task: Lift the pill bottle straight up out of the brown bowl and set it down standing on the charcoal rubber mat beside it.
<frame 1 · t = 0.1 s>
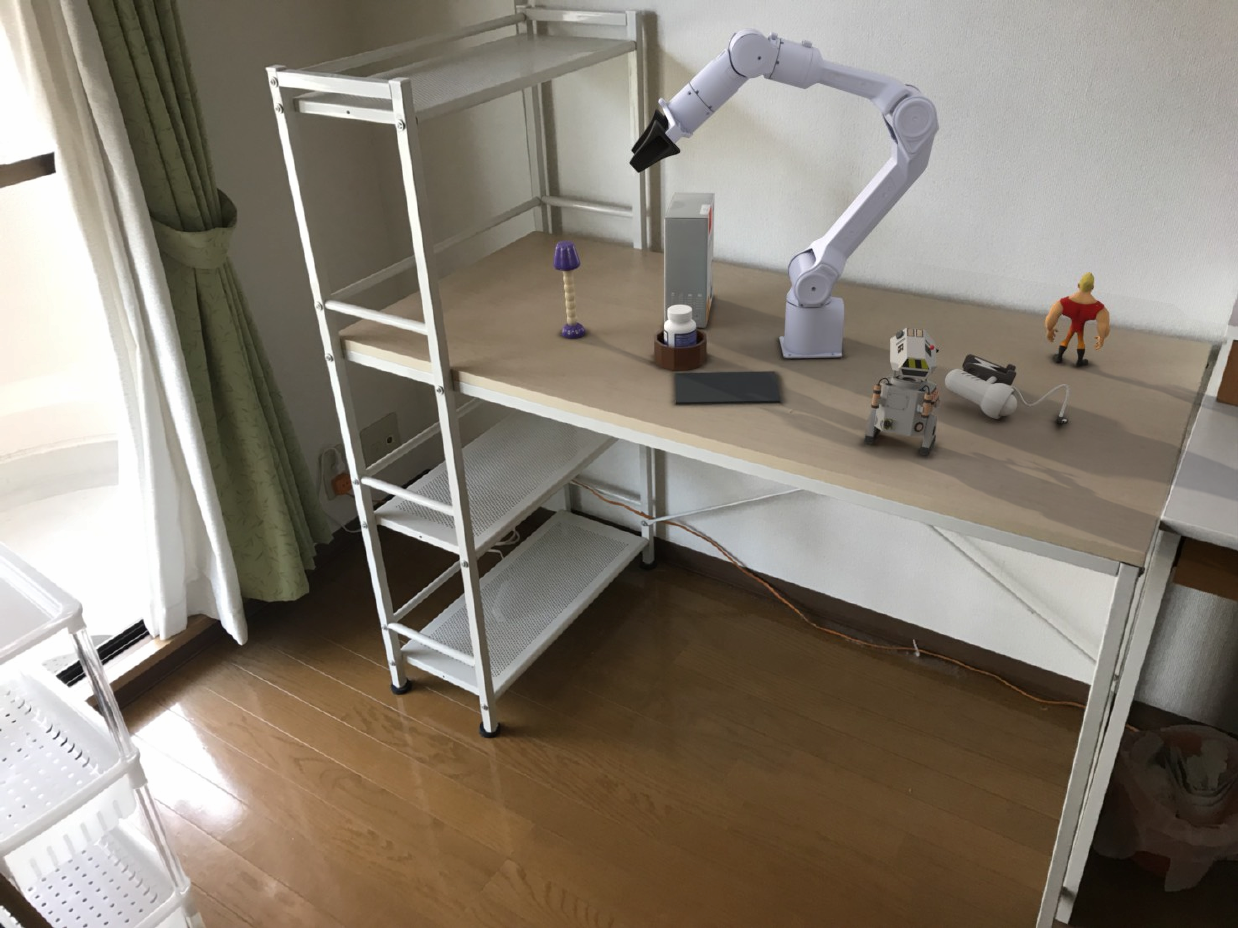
hand: (634, 161, 151), 32 cm above the table, tool tilted 50°, fingers open, 7 cm apart
action figure: (1069, 363, 159), on the table
brown bowl: (680, 359, 165), on the table
figurine: (902, 438, 141), on the table
pill bottle: (680, 360, 165), resting in brown bowl
toy lamp: (572, 335, 176), on the table
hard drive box: (689, 312, 182), on the table
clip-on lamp: (1007, 409, 147), on the table
mat: (726, 388, 155), on the table
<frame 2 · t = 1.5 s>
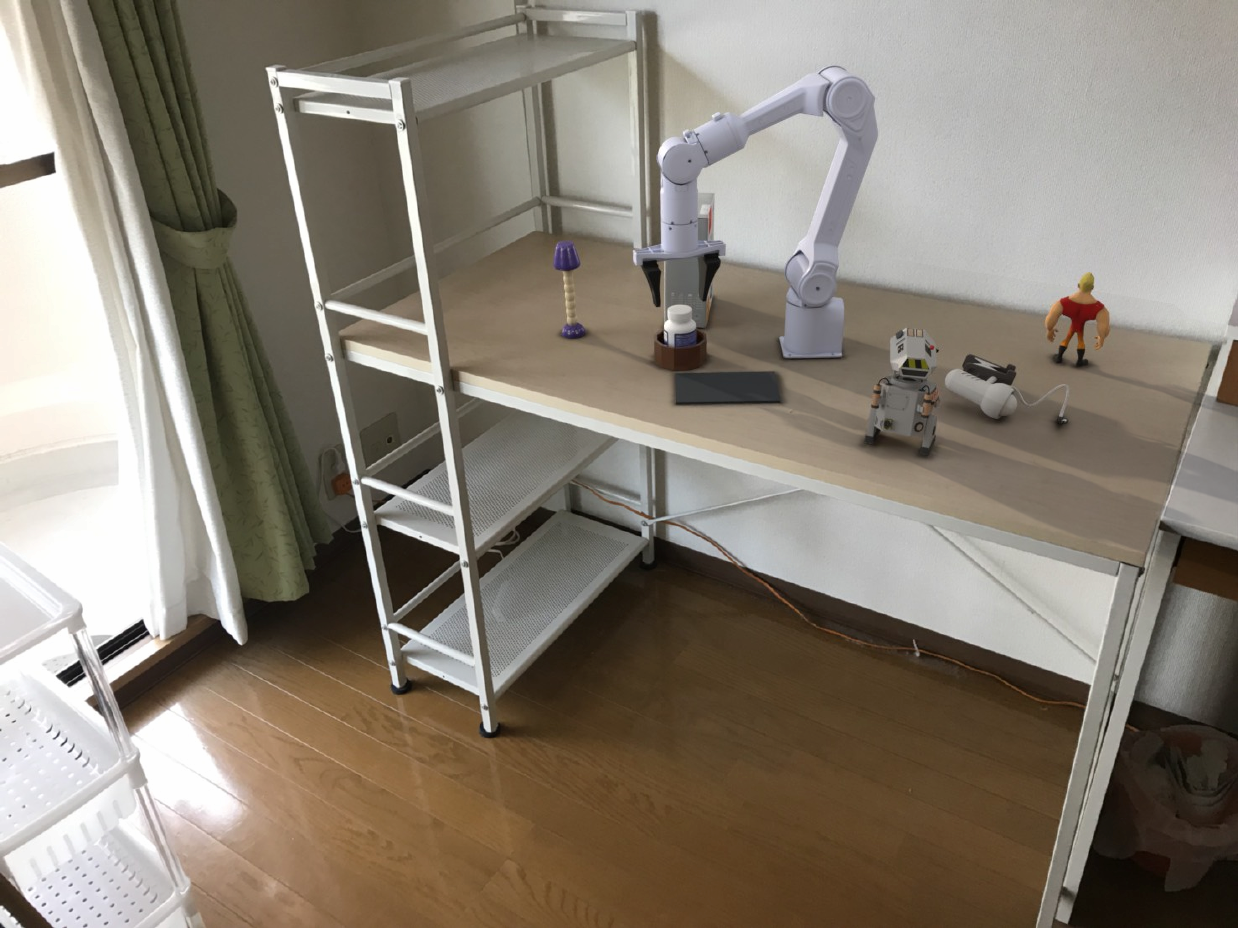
hand: (679, 302, 160), 10 cm above the table, tool pointing down, fingers open, 7 cm apart
nothing on the table moved.
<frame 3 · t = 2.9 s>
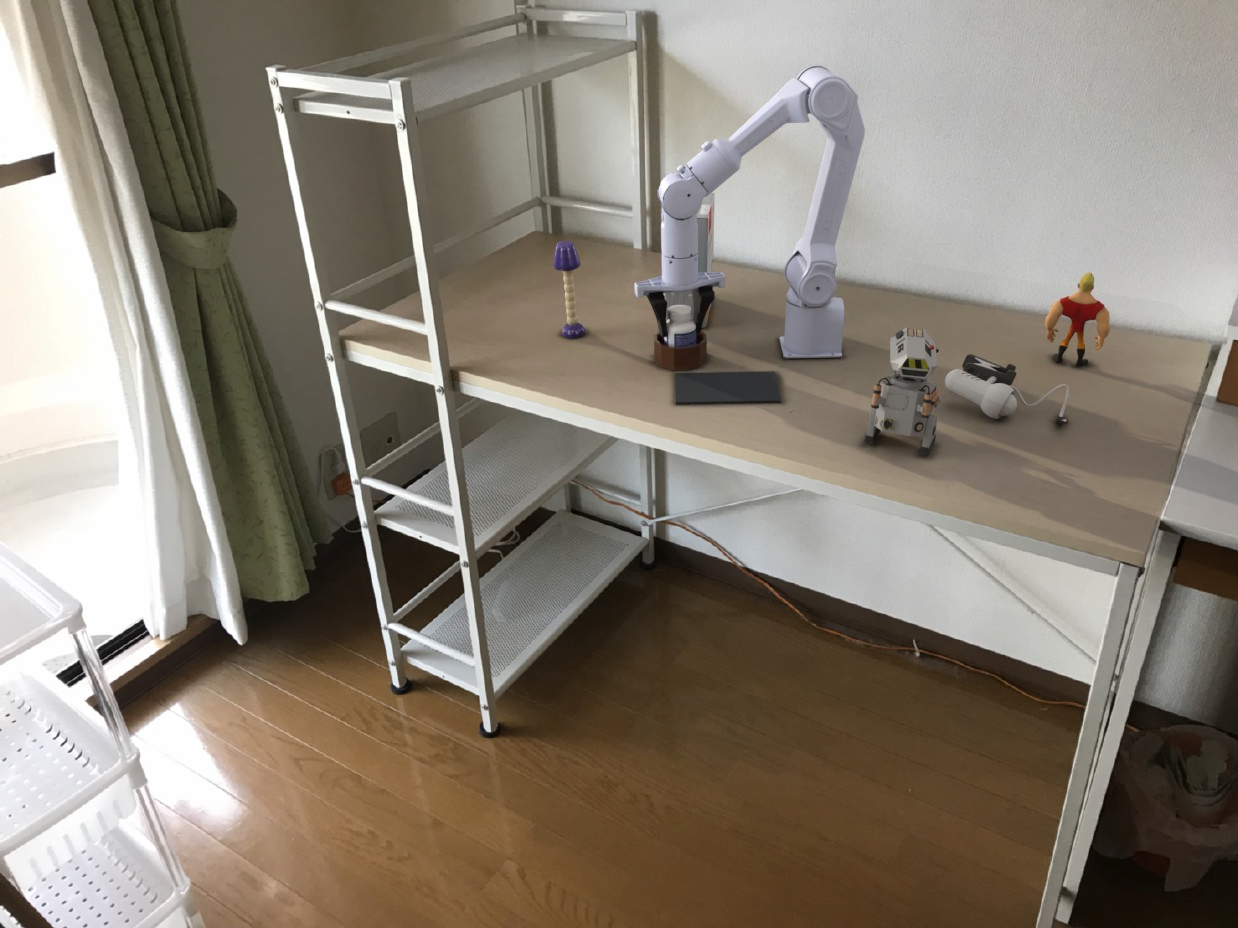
hand: (680, 332, 163), 5 cm above the table, tool pointing down, fingers closed on pill bottle, 5 cm apart
pill bottle: (680, 360, 165), resting in brown bowl, touching gripper
everything else where it was.
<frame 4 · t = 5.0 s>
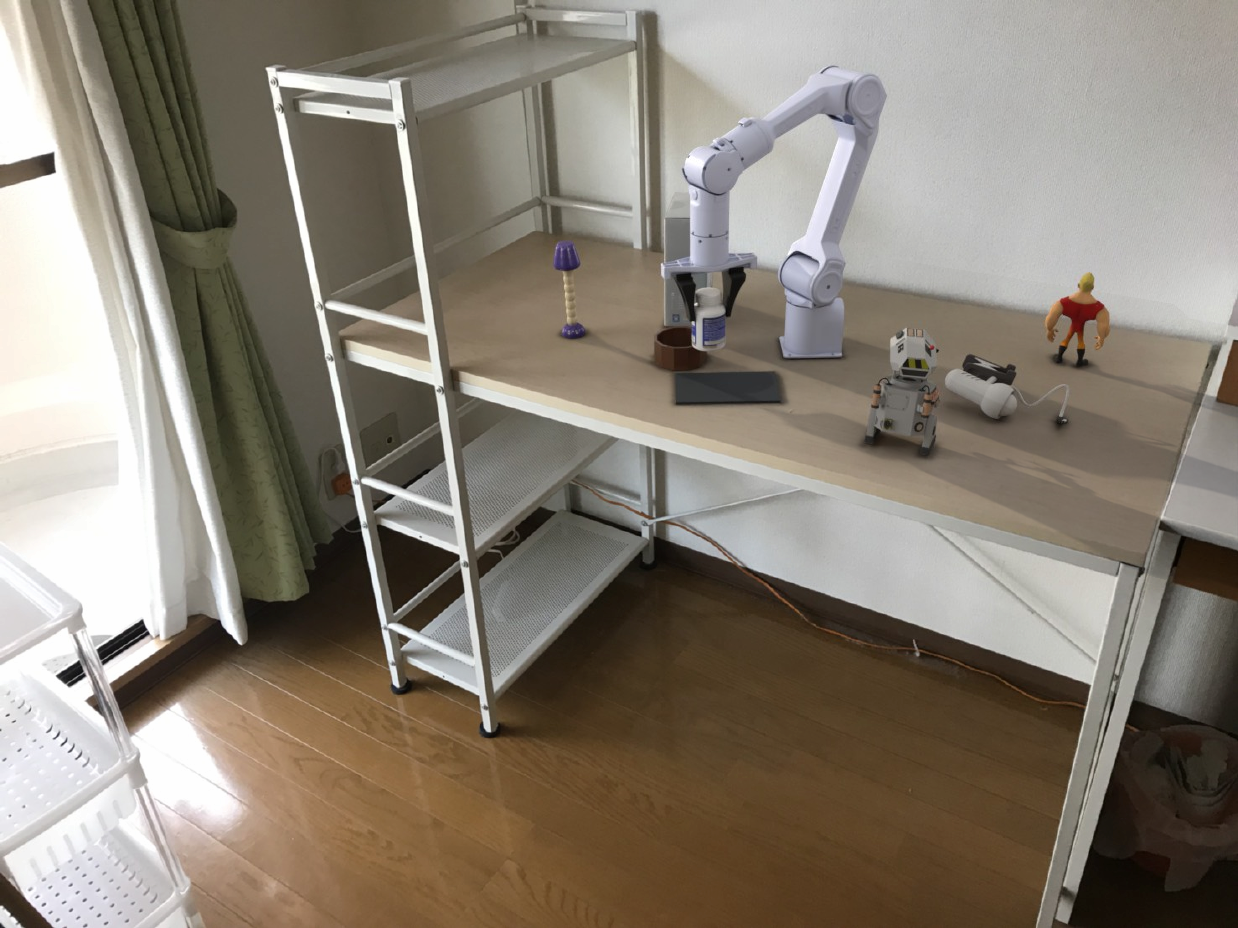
hand: (708, 316, 154), 10 cm above the table, tool pointing down, fingers closed on pill bottle, 5 cm apart
pill bottle: (708, 346, 156), point 5 cm above the table, touching gripper
everything else where it was.
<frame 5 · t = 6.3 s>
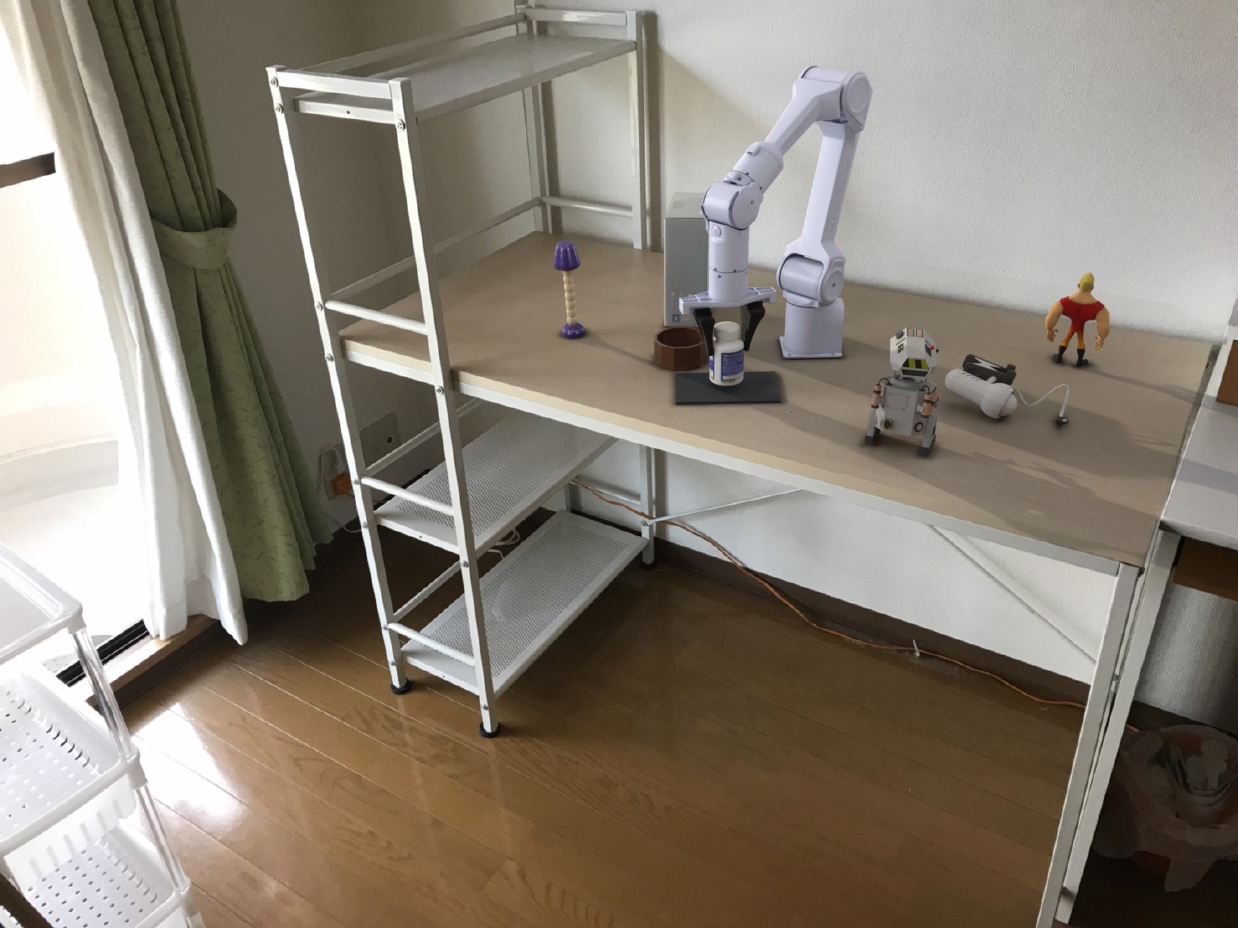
hand: (727, 351, 152), 6 cm above the table, tool pointing down, fingers closed on pill bottle, 5 cm apart
pill bottle: (726, 380, 155), point 1 cm above the table, touching gripper
everything else where it was.
when the fingers open (5 cm above the table, at t = 7.2 s): pill bottle stays where it is, resting on mat.
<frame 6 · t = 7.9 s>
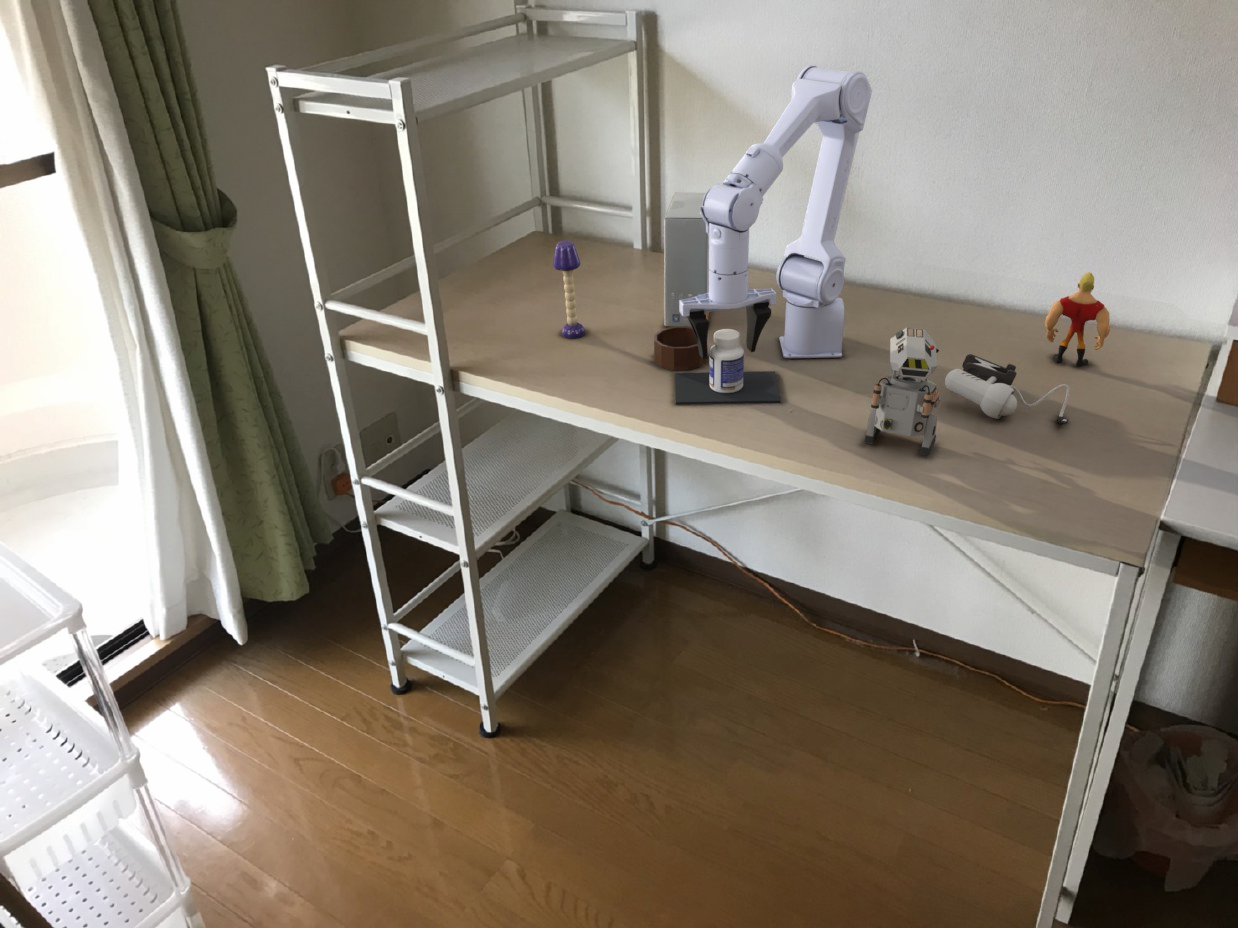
hand: (727, 352, 152), 6 cm above the table, tool pointing down, fingers open, 7 cm apart
pill bottle: (726, 387, 155), resting on mat
everything else where it was.
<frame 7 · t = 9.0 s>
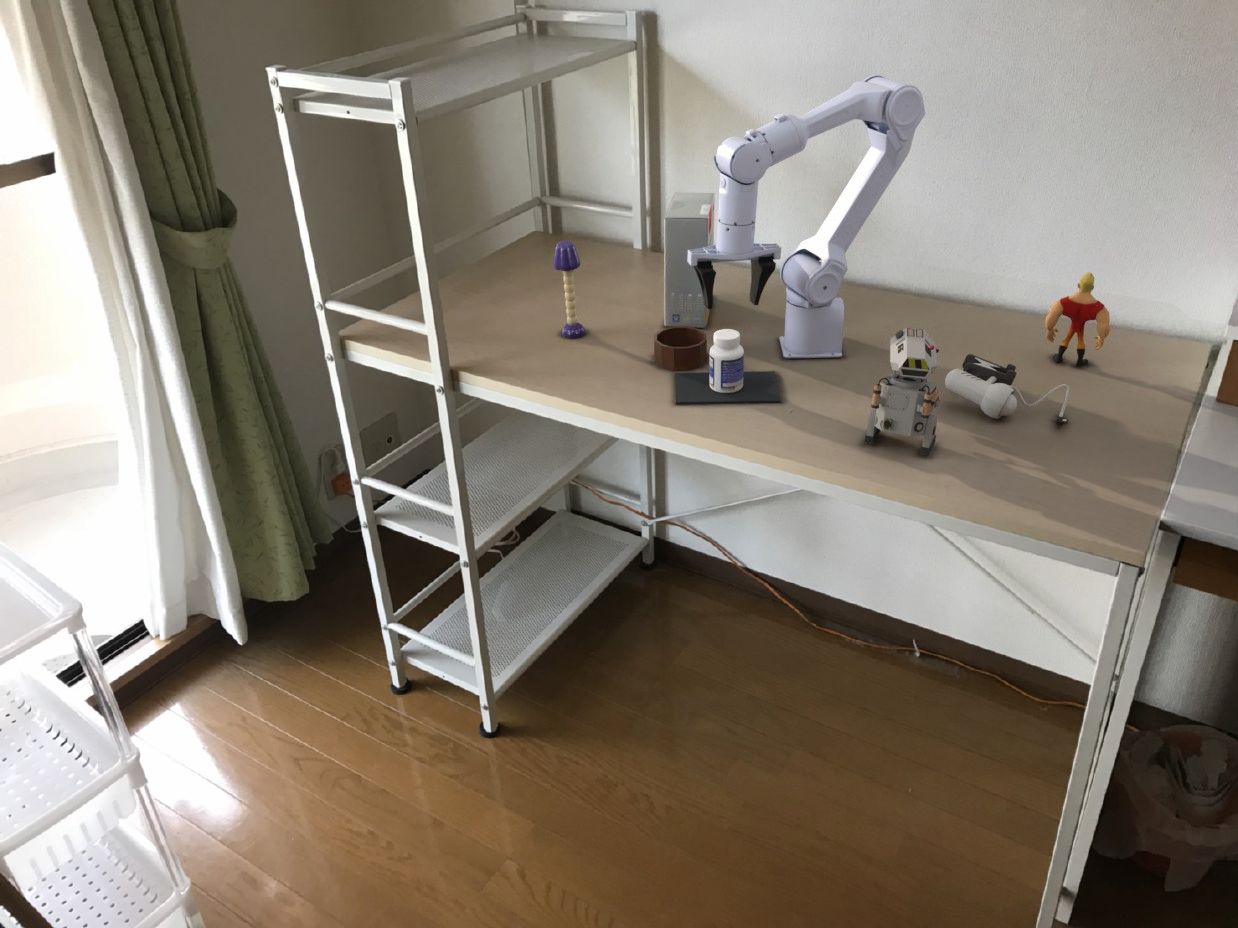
hand: (731, 304, 157), 10 cm above the table, tool pointing down, fingers open, 7 cm apart
nothing on the table moved.
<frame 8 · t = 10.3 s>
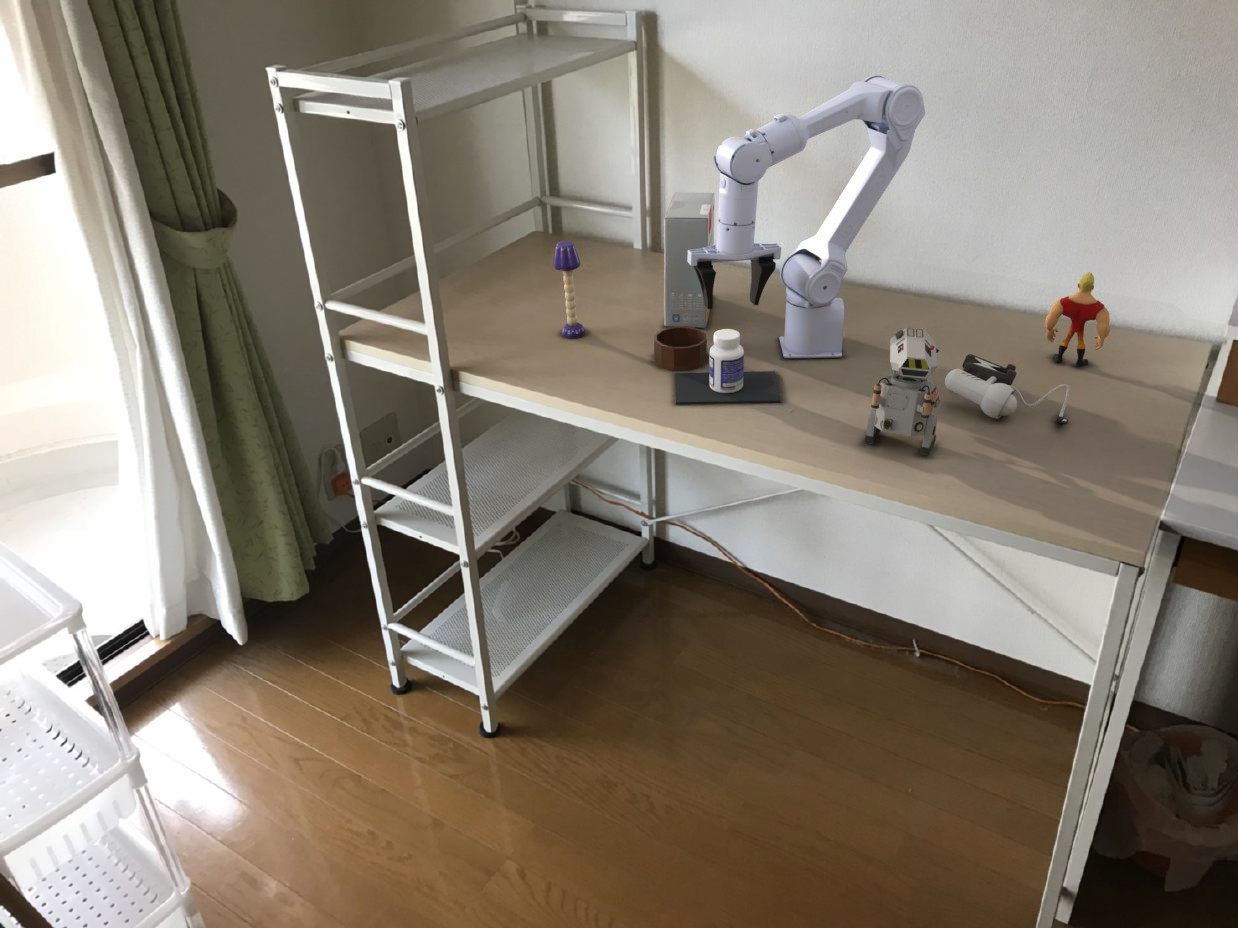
hand: (731, 304, 157), 10 cm above the table, tool pointing down, fingers open, 7 cm apart
nothing on the table moved.
at the end: pill bottle inside the target area on the mat (0.0 cm from its centre), point 0.2 cm above the mat's base; pill bottle tilted 0°; the gripper is holding nothing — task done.
